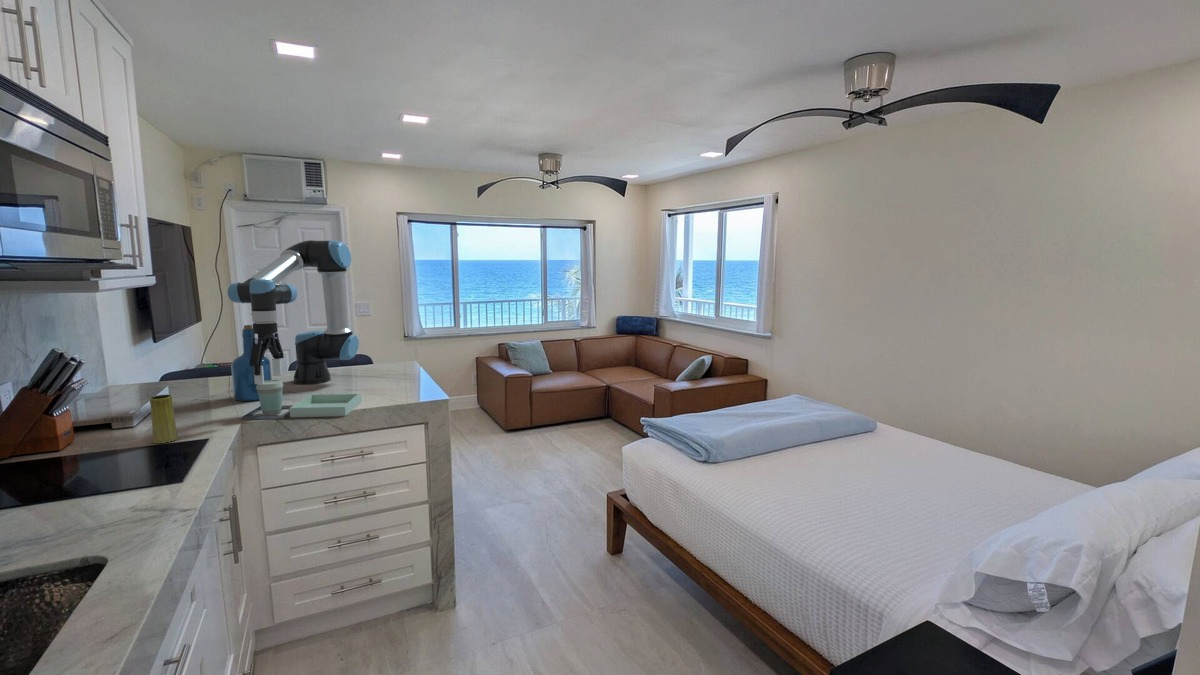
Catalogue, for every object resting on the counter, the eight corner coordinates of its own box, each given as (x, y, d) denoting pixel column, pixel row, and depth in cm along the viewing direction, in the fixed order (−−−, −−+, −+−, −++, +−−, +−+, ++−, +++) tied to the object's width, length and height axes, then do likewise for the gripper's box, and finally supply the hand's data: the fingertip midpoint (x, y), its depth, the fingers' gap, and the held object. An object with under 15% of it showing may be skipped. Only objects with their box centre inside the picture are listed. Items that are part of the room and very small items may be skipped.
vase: (182, 439, 163) (177, 395, 161) (159, 445, 157) (154, 400, 155) (171, 436, 166) (167, 393, 163) (148, 442, 160) (143, 397, 158)
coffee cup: (290, 410, 195) (288, 379, 193) (274, 417, 186) (271, 385, 184) (269, 409, 195) (267, 378, 193) (252, 416, 187) (249, 384, 185)
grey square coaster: (261, 408, 196) (260, 405, 196) (300, 407, 199) (299, 405, 198) (241, 419, 183) (241, 417, 183) (283, 418, 185) (283, 416, 185)
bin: (311, 402, 205) (310, 394, 205) (361, 401, 208) (361, 393, 207) (290, 417, 187) (289, 408, 186) (345, 416, 189) (345, 406, 189)
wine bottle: (273, 399, 209) (268, 326, 204) (233, 404, 201) (226, 328, 197) (272, 391, 220) (266, 322, 215) (234, 395, 212) (227, 324, 208)
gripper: (270, 318, 197) (273, 372, 200) (234, 326, 173) (239, 387, 176) (291, 318, 198) (294, 372, 201) (258, 326, 174) (263, 387, 177)
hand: (268, 379), depth 188 cm, fingers open, 13 cm apart
